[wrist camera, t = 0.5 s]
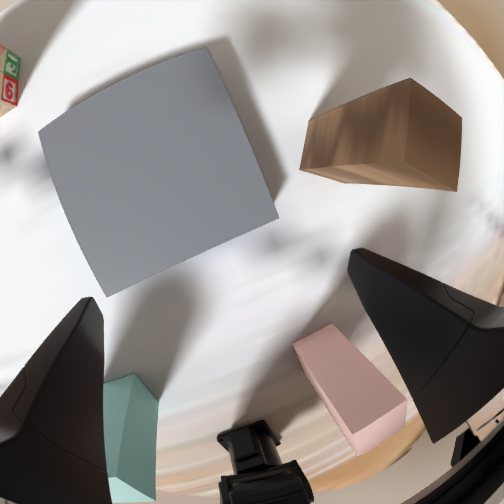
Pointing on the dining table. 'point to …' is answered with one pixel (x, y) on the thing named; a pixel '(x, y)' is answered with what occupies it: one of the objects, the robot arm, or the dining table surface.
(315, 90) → the dining table surface
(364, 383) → the dusty pink block
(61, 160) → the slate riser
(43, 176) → the dining table surface
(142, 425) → the muted teal block
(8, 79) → the stack of blocks
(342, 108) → the walnut block
